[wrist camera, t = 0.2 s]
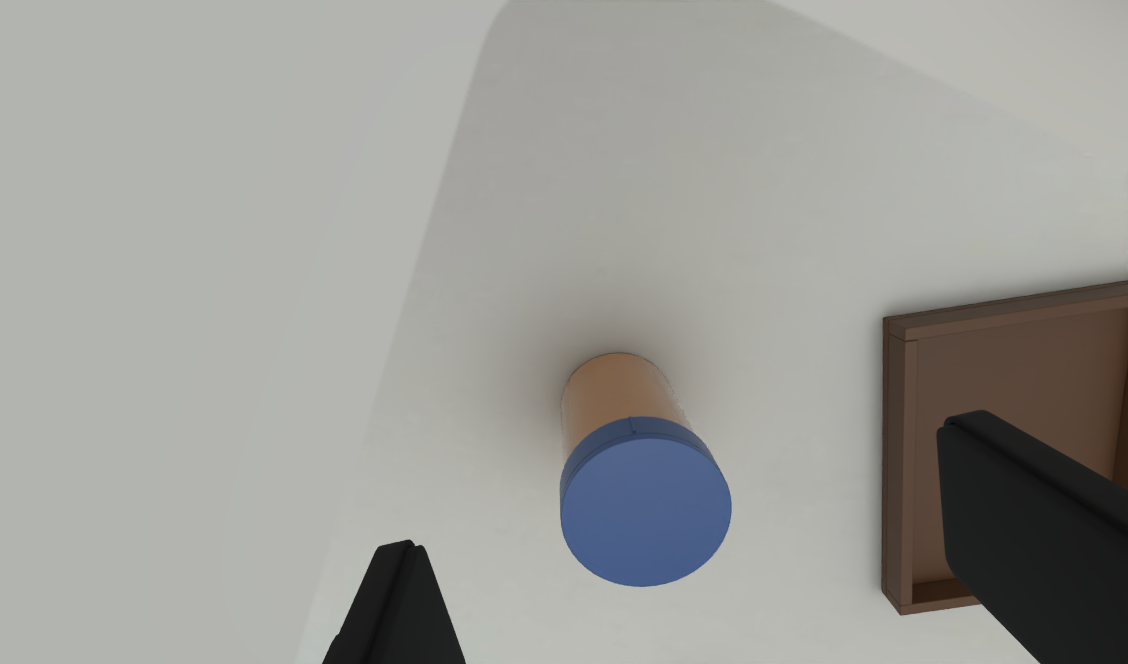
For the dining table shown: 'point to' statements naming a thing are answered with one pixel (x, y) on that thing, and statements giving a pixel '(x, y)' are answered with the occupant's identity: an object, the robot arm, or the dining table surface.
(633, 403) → the jar
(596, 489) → the lid
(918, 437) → the tray
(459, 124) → the dining table surface
